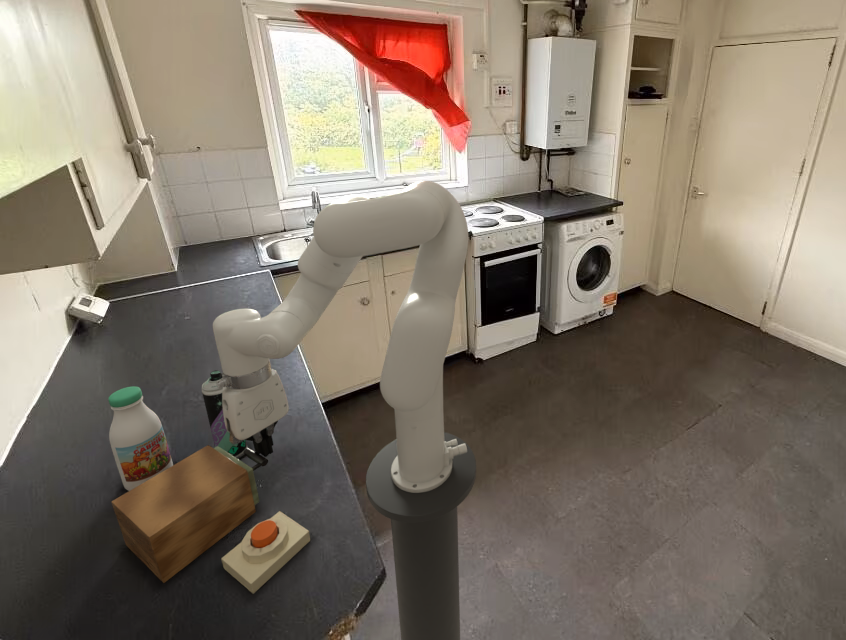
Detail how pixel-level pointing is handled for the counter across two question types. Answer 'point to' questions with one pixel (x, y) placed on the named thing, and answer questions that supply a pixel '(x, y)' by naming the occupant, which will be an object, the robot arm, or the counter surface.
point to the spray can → (219, 416)
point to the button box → (265, 553)
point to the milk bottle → (137, 438)
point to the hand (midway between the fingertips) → (265, 452)
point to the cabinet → (184, 510)
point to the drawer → (253, 456)
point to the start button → (264, 534)
